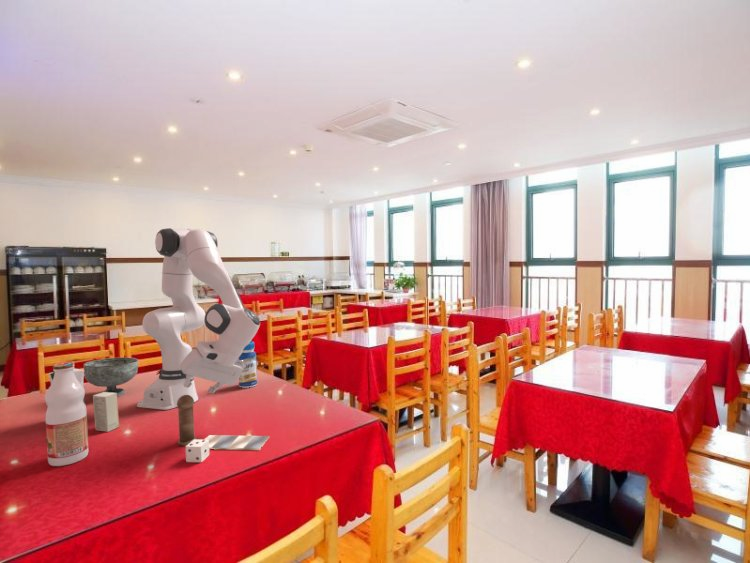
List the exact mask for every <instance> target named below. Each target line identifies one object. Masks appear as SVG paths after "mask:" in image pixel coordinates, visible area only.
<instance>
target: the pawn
mask: <svg viewBox="0 0 750 563" xmlns="http://www.w3.org/2000/svg"><path fill="white" fill-rule="evenodd" d="M194 404H195V402H194V399H193V398H192V397H191V396H190V395H183V396H181V397H180V398H179V399H178V401H177V406H178V407H177V409H178V411H177V412H178V413H177V414H178V431H179V432H178V433H179V434H178V435H179V439H177V445H178V446H180V447H186V446H187V445H188V444H189V443H190V442H192V441H193V440H194V439H197V436H195V420H194V418H195V417H194Z"/></svg>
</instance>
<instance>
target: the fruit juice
mask: <svg viewBox="0 0 750 563" xmlns="http://www.w3.org/2000/svg"><path fill="white" fill-rule="evenodd" d="M75 366H76V365H75V362H74V361H64V362H58V363H55V364H53V365H52V372H53V371H54V372H55V374H54V378H53V381H52V384H51V383H50V386H49V387H48V388H47V390H46V392H45V395H44V401H45V403H46V406H47V408H46V412H45V430H46V432H45V433H46V448H47V449H46V450H47V453H46V454H47V462H48V465H50V466H51V467H62V466H68V465H71V464H75V463H78V462H80V461H82V460H83V459H85V458H86V457H87V456H88V454H89V450H90V449H89V433H88V432H89V430H88V415H87V414H88V413H87V411H88V410H87V406H86V403H84V402H85V401H84V402H83V399H84V400H85V394H86V391H85V386H84V387H83V385H82V384H81V383H80V382H79V381H78V380H77V378H76V376H75V374H74V371H73V369H75Z"/></svg>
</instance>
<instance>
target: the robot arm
mask: <svg viewBox="0 0 750 563" xmlns="http://www.w3.org/2000/svg"><path fill="white" fill-rule="evenodd" d="M154 240H155V242H154V243H155V244H154V245H155V249H156V252H158V254H159V255H161V256H164V257H163V262H162V272H161V292H162V293H163V294H164V295H165V296H166V297H168V298H170V300H171V302H172V306H171V307H163V308H161V307H160V308H158V309H155V310H152V311H149V312H147V313H146V314H145V315H144V317H143V318H142V319H143V320H142V329H143V331H144V332H145V334H147V335H148V336H149V337H151V338H152V339H154V340H155V341H156V343H157V344H158V347H159V350H160V353H161V360H162V361H161V363H162V368H161V369H159V370H158V371H156V372H155V373H156V376H158V377H157V378H156V380H154V381H153V382H152V383H151V384H150V385H148V387H146V388H145V390H144V392H143V399H141V400H139V401H138V402H137V404H136V407H137V408H143V409H153V410H162V411H163V410H164V411H166V410H170V409H174V408H178V406H177V401H178V399H179V398H180V397H181V396H183V395H190V396H191V397H192V398H193V399H194V403H195V402H197V401H198V400H199V395H198V394H197V393H198V392H197V390H196V384H195V378H198V379H204V380H207V381H210V382H215V384H214V385H210V386H209V388H208V389H207V392H208V393H210V394H215V392H216V391H217V390H218V389H222V387H223V386H224V385H226V386H230V387H233V386H234V385H236V383H238V381H239V377H240V375H241V373H242V371H243V369H244V368H245V363H244V361H242V360H239V359H238V358H239V356H240V355H241V354H242V351H243V349H244V348H245V346H247V345H248V344H249V343H250V341H252V340H253V339H254V337H255V336H256V334H257V333H258V330H259V328H260V326H261V320H260V318H259V317H258V315H257V314H256V313H255V312H253V311H252V310H251V309H249V308H246V307H245V305H244V303H243V301H242V299H241V296H240V294H239V292H238V290H237V287H236V286H235V283H234V281H233V280H232V278H231V276H230V274H229V272H228V270H227V269H226V267H225V265H224V263H223V262H224V261H223V259H222V257H221V254H220V252H219V249H218V238H217V237H216V235H215V233H213V232H211V231H208V230H206V229H203V228H202V229H201V228H195V229H194V228H162V229H160V230H159V231H158V232H157V233H156V236H155V239H154ZM193 278H195V279H196V280H198V281H200V282H201V283H204V284H205V285H207V286H208V287H210V288H211V289H212V290H214V291H215V293H216V294H218V296H219V298H220V300H221V302H222V303H215V304H213V305H211V306H210V307H209V308H208V309H207V311H206V312H205V310H204V309H203V307H201V306H200V305H199V304H198V302H197V301H196V298H195V296H194V290H193V288H194V286H193V284H194V282H193V280H194V279H193ZM204 325H205V327H206V329H208V330H209V331H211V332H213V333H214V334H216V335H218V338H217V340H216V341H199V342H197V344H196V345H195V347H196V348H194V349H193V348H192V347H191V345H190V344H188V343H187V342H184V340H183V339H182V337H181V334H182V333H188V332H192V331H196V330H198V329H199V328H201V327H203V326H204Z"/></svg>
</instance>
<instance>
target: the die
mask: <svg viewBox="0 0 750 563" xmlns="http://www.w3.org/2000/svg"><path fill="white" fill-rule="evenodd" d="M209 456H210V449H209V440H204V439H199V438H198V439H197V438H196V439H194V440H193V441H192V442H190V443H189V444H188V445H187V446H185V461H186V463H203V462H204V461H205V460H206V458H208V457H209Z"/></svg>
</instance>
